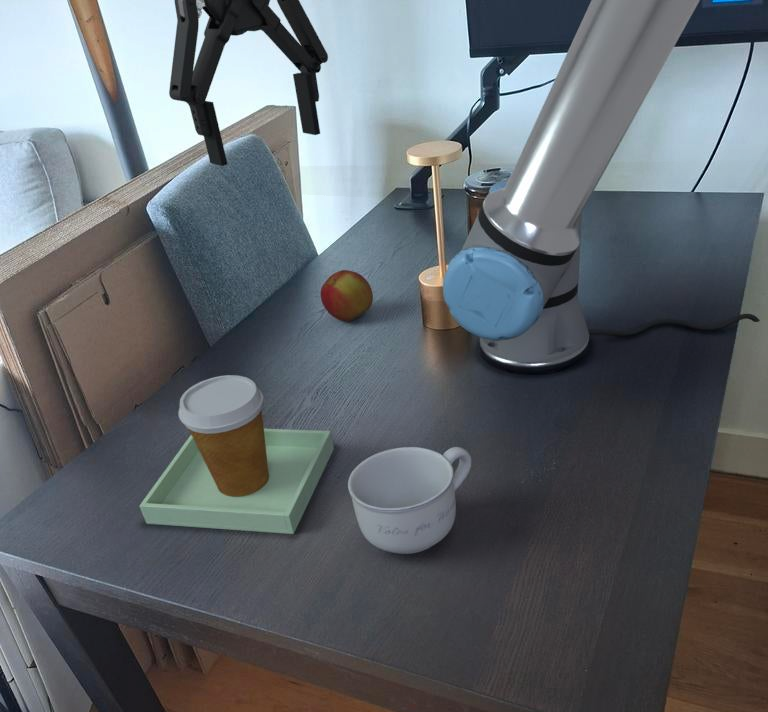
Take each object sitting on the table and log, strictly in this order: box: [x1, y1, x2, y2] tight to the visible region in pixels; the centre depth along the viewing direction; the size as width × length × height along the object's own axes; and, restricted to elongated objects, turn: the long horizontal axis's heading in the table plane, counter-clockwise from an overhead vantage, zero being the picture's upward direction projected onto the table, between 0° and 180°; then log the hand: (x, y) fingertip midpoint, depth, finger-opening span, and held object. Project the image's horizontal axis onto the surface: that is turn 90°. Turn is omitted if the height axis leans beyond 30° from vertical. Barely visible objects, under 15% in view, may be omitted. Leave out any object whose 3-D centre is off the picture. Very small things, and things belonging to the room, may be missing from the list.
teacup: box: [347, 446, 472, 555], centre depth 79 cm, size 14×11×8 cm
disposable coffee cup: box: [177, 374, 269, 497], centre depth 87 cm, size 10×10×12 cm
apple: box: [320, 269, 374, 323], centre depth 121 cm, size 8×8×8 cm
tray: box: [138, 428, 335, 535], centre depth 91 cm, size 18×16×3 cm
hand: (266, 148), depth 92 cm, fingers open, 13 cm apart
